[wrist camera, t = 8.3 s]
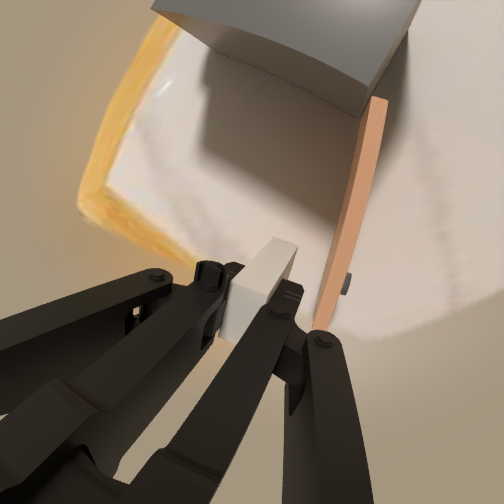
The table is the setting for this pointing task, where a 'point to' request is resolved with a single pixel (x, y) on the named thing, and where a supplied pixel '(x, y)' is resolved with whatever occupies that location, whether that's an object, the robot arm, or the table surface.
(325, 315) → the side door
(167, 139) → the table surface
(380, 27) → the dark gray knobbed box
